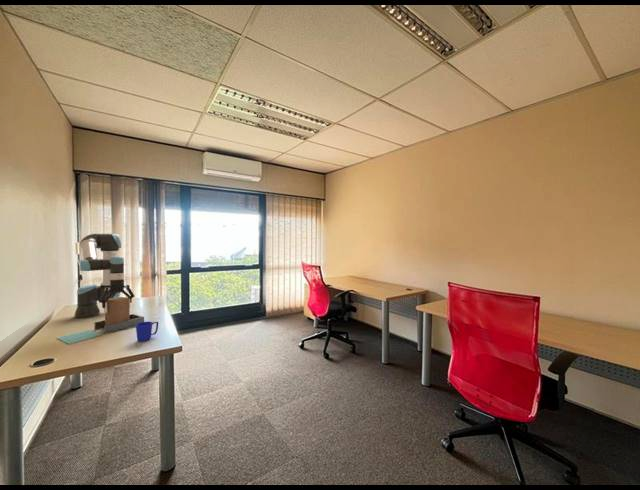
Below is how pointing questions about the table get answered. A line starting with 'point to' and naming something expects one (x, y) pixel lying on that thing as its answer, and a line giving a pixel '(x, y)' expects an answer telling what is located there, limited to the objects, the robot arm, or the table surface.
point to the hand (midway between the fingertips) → (117, 310)
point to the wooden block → (117, 310)
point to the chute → (119, 324)
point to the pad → (79, 336)
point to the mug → (145, 330)
